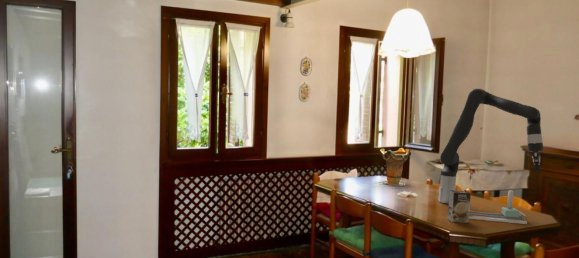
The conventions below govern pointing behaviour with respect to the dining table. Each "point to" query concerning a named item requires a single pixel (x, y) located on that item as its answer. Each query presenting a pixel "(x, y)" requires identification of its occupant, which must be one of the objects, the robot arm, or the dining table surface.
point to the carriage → (510, 207)
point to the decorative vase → (395, 165)
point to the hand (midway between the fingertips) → (537, 171)
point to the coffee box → (459, 206)
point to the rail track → (497, 217)
